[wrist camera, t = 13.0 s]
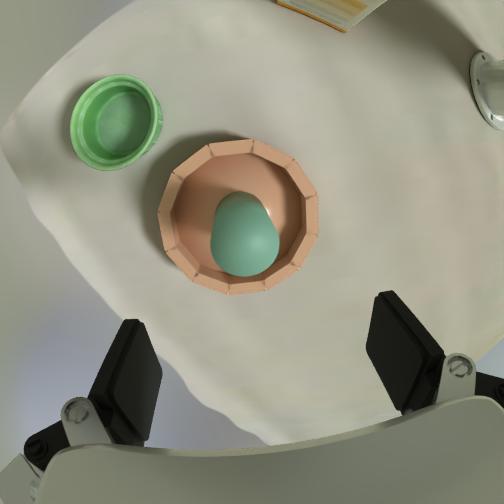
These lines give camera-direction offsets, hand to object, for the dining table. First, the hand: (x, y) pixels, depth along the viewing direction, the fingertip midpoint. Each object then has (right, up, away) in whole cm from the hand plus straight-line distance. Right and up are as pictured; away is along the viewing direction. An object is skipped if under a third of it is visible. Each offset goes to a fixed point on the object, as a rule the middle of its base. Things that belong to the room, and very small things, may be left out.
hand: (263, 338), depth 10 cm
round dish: (-2, +7, +18) cm, 19 cm away
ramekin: (-13, +16, +14) cm, 25 cm away
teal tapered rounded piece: (-2, +7, +17) cm, 18 cm away
